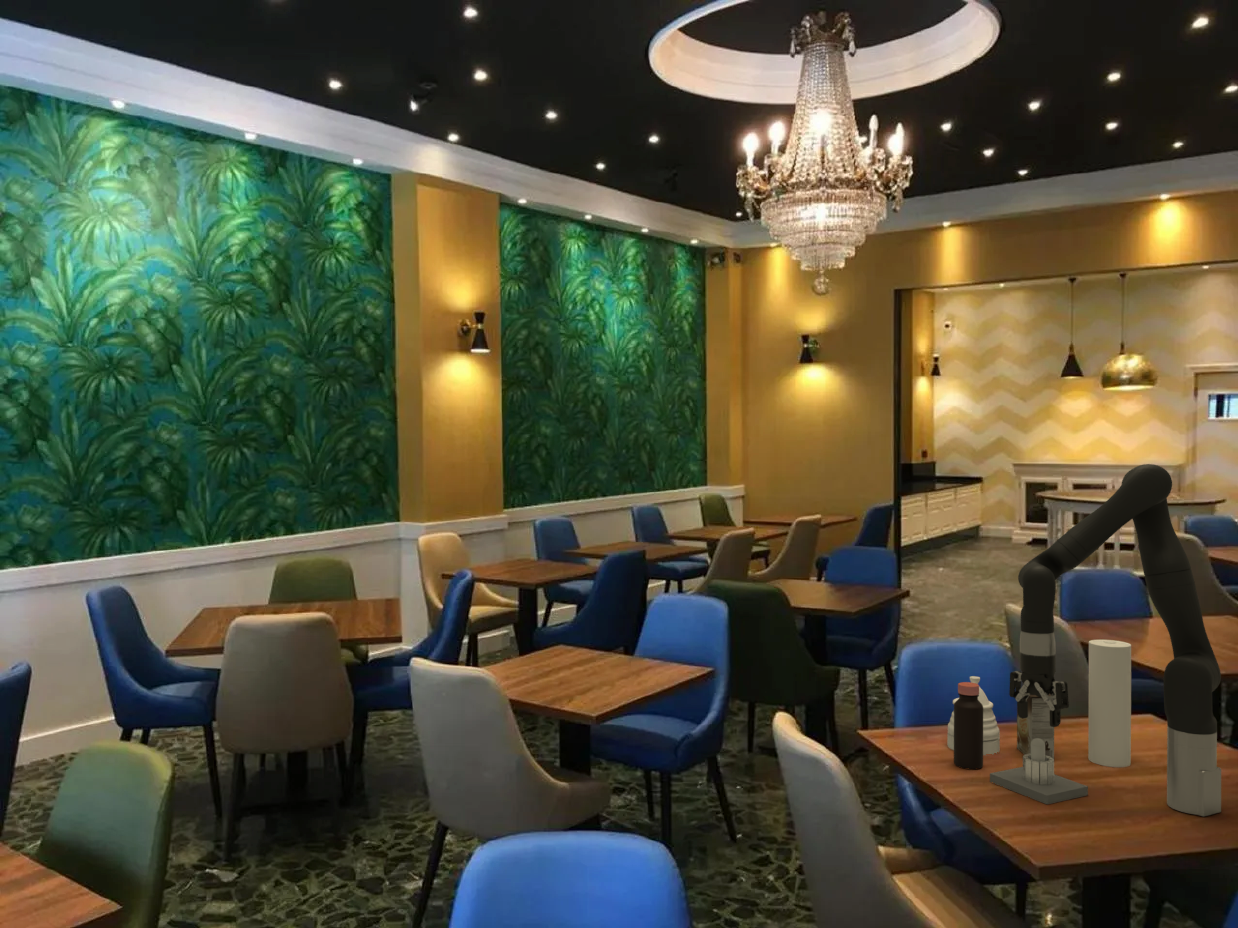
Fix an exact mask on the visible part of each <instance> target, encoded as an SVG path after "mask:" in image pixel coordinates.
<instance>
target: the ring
mask: <svg viewBox="0 0 1238 928" xmlns="http://www.w3.org/2000/svg"><path fill="white" fill-rule="evenodd" d="M1022 767H1023V779H1024V780H1025V781H1027V782H1030V783H1034V784H1040V785H1049V784H1052V783H1053V782H1054V774H1055V758H1054V759H1053V758H1052V757H1049V756H1046V755H1045V761H1035V760H1032V759H1031V754H1023V756H1022Z"/></svg>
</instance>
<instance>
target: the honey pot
mask: <svg viewBox="0 0 1238 928" xmlns="http://www.w3.org/2000/svg"><path fill="white" fill-rule="evenodd" d="M969 681H970V682H971V683H976V684H978V685H979V683H980V681H981V677H980V676H975V675H972V676H969ZM958 699H959V697H957V698H954V699H952V704H953V705H954V703H955V702H956V701H957V700H958ZM978 700H979V702H980V703H981V704H982V705H983V756H987V755H986V754H992V755H995V754H994V753H996V754H998V753H1000V751H1001V749H1000V744H1001V743H1000V742H1001V741H1000V739H1001V738H1000V736H1001V734H1000V733H1001V732H1000V731H1001V730H1000V727H999V726H998V722H997V720H996V718H997V717H996V716H995V714H994V711H993V708H994V703H993V702H991V701H990V700H989V699H988V697H987V695H986V693H985V691H984V690H983V689H982V688H981V686H979V696H978ZM946 736H947V742H946V743H947V747H948V748H949V749H950V750H951V751H954V710H953V711H952V712H951V716H950V718H949V722H948V723H947V735H946ZM997 752H998V753H997Z"/></svg>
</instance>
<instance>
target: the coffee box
mask: <svg viewBox="0 0 1238 928" xmlns="http://www.w3.org/2000/svg"><path fill="white" fill-rule="evenodd" d="M1048 696H1051V695H1050V694H1049V695H1048ZM1026 701H1027V702H1028V717H1027V718H1019V715H1018V712H1017V711H1016V749H1017V750H1019V752H1021V753H1022V754H1023V755H1025V754H1031V742H1032V740H1033V739H1035V738H1039V739H1042V740H1043V741H1044V743H1045V755H1046V756H1049V757H1052V758H1053V759H1054V760H1055V727H1051V726H1050V710H1051V709H1050V707H1049V706H1048V704H1047V702H1045V701H1044V700H1043V698H1042V697H1038V696H1036V695H1030V696H1029V697H1028V699H1027V700H1026Z"/></svg>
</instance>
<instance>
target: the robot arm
mask: <svg viewBox="0 0 1238 928" xmlns="http://www.w3.org/2000/svg"><path fill="white" fill-rule="evenodd" d="M1172 489H1173V480H1172V476H1171V475H1170V473H1169V472H1168V471H1167V469H1165V468H1164V467H1162V466H1160V465H1159V464H1153V463H1151V464H1150V463H1144V464H1140V465H1137V466H1135V467H1134V468H1132V469H1130V470H1128V472H1126V473H1125V474H1124V476H1123V478H1122V481H1121V485H1120V486H1119V487H1118V489H1117V490H1116V491H1115V492H1114V493H1113V494H1112V495H1111V496H1110V498H1108V499H1107V500H1106V501H1105V502H1104V503H1103V504H1102V505H1100V506H1099V507H1098V508H1096V509H1095V510H1094V511H1093V512H1091V513H1090V514H1088V515H1087V516H1086V517H1084V518H1082V519H1081V520H1080V521H1079V522H1077V523H1076V524H1074V525H1073V526H1072V527H1071V528H1070V529H1068V530H1067V531H1065V532H1064V534H1063V535H1062V536H1060V537H1058V539H1057V540H1055V542H1054V543H1052V545H1051V546H1049V547H1048V548H1047V549H1045V550H1044V551H1042V552H1041V553H1039V554H1037V555H1036V556H1035V557H1033V558H1032V559H1031V560H1029V561H1028V562H1026V564H1025V565H1023V566H1022V567H1021V569H1020V570H1019V572H1018V577H1017V578H1018V583H1019V585H1020V587H1021V588H1022V608H1021V610H1020V636H1019V670H1015V671H1010V672H1009V691H1008V692H1009V693H1008V695H1009V697H1011V698H1013V699H1015V701H1016V704H1017V705H1016V713H1017V712H1018V715H1019V718H1027V717H1028V702H1027V701H1026V700H1027V699H1028V697H1029V696H1030V695H1036V696H1038V697H1042V698H1043V700H1044V701H1045V702H1047V704H1048V706H1049V707H1050V709H1051V710H1050V726H1051V727H1054V728H1056V727H1059V726H1060V725H1061V721H1062V720H1061V718H1062V717H1061V716H1062V714H1061V711H1062V710H1065V709H1069V706H1070V704H1069V690H1068V688H1069V687H1068V682H1067V681H1065V680H1064V681H1057V680H1056V679H1055V673H1056V670H1057V667H1056V666H1057V663H1056V659H1057V658H1056V655H1057V654H1056V653H1057V652H1056V638H1055V618H1054V607H1055V600H1056V591H1057V590H1056V589H1057V585H1056V583H1057V582H1056V580H1057V579H1058V578H1059V577H1061V576H1062V575H1063V574H1065V573H1066V572H1068V571H1072V570H1074V569H1076V568H1077V567H1078V566H1080V565H1081V564H1083V562H1084V561H1085V560H1086V559H1088V558H1090V556H1091V555H1092V554H1094V553H1095V552H1096V551H1097V550H1098V549H1099V548H1100V547H1101V546H1102V545H1103V544H1105V543H1106V542H1107V541H1108V540H1109V539H1110V538H1111V537H1113V535H1114V534H1115V533H1117V531H1119V530H1120V529H1121V528H1123V526H1125V525H1126V524H1127V523H1129V522H1130V521H1132V522H1133V525H1134V529H1135V532H1136V536H1137V544H1138V550H1139V555H1140V561H1141V567H1142V571H1143V576H1144V580H1145V584H1146V588H1147V593H1148V594H1149V597H1150V600H1151V602H1152V604H1153V606H1154V608H1155V610H1156V611H1157V614H1158V616H1159V617H1160V618H1161V620H1162V621H1163V623H1164V626H1165V627H1166V630H1167V631H1168V634H1169V638H1170V642H1171V648H1172V655H1173V658H1172V660H1170V661H1169V662H1168V663H1167V665H1166V666H1165V669H1164V673H1163V705H1164V706H1163V707H1164V708H1163V709H1164V713H1165V716H1166V721H1167V722H1166V723H1167V725H1166V727H1167V728H1166V730H1167V732H1166V733H1167V734H1166V735H1167V737H1166V738H1167V739H1166V741H1167V742H1166V749H1167V750H1166V766H1167V767H1166V805H1167V806H1168V807H1170V808H1171V809H1173V810H1176V811H1178V812H1182V813H1186V814H1191V815H1196V816H1201V817H1207V816H1208V817H1209V816H1211V815H1215V814H1218V813H1222V768H1221V767H1219V766H1217V765H1218V763H1217V762H1218V759H1217V758H1218V757H1217V753H1218V752H1217V751H1218V749H1217V748H1218V744H1217V743H1218V740H1217V739H1218V720H1217V719H1216V717H1215V716H1214V713H1213V692H1214V691H1216V689H1217V688H1219V685H1220V683H1221V678H1222V673H1221V669H1220V665H1219V662H1218V661H1217V658H1216V655H1215V653H1214V650H1213V647H1212V645H1211V642H1210V639H1209V637H1208V634H1207V632H1206V628H1205V623H1204V618H1203V613H1202V608H1201V604H1200V600H1199V595H1198V592H1197V587H1196V582H1195V578H1194V575H1193V570H1192V567H1191V563H1190V560H1189V558H1188V555H1187V553H1186V551H1185V549H1184V547H1183V545H1182V543H1181V541H1180V539H1179V537H1178V535H1177V533H1176V531H1175V529H1174V527H1173V523H1172V520H1171V517H1170V512H1169V505H1168V497H1169V496H1170V495H1171V493H1172V492H1171V491H1172ZM1022 684H1023V685H1022ZM1049 694H1050V695H1051V696H1048V695H1049Z"/></svg>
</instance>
